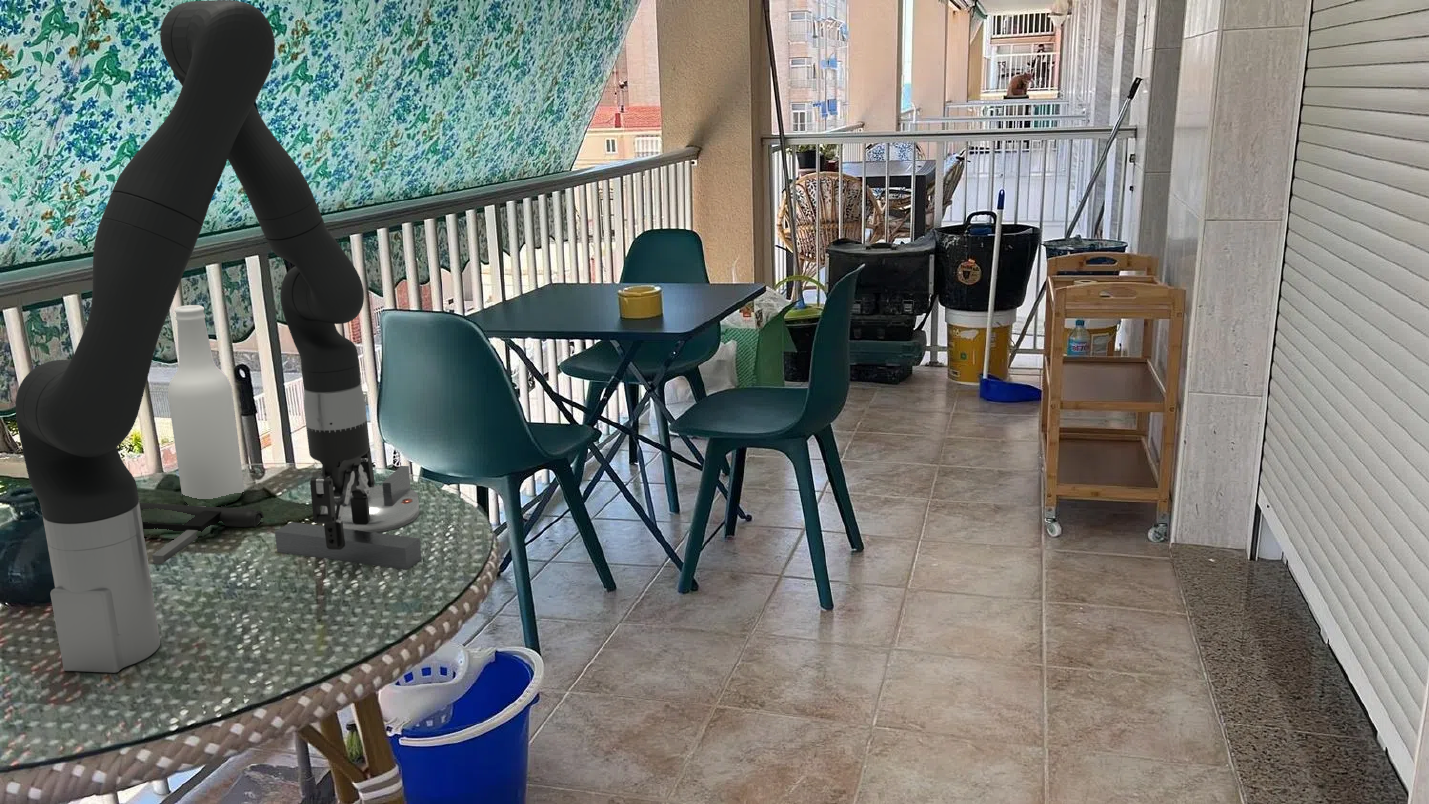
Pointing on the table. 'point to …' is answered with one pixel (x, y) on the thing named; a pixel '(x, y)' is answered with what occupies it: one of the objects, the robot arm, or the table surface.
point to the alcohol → (203, 414)
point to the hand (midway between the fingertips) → (349, 535)
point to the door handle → (198, 524)
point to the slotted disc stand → (387, 504)
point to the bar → (350, 546)
